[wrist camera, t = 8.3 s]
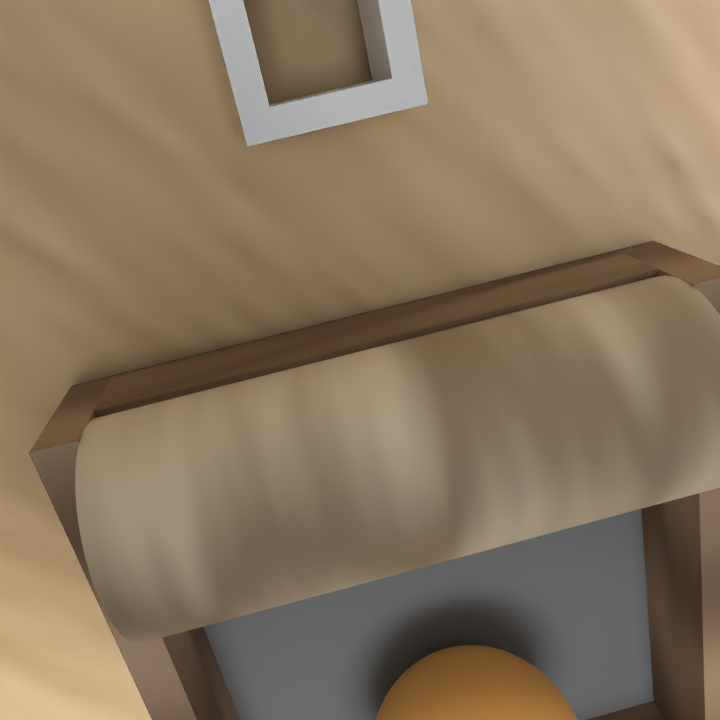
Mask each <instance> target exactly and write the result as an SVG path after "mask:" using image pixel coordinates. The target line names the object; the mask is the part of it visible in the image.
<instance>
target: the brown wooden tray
mask: <svg viewBox="0 0 720 720" xmlns="http://www.w3.org/2000/svg"><path fill="white" fill-rule="evenodd" d="M29 454H30V456H31V458H32V460H33V462H34V465H35V467H36V469H37V471H38V473H39V475H40V478H41V480H42V482H43V484H44V486H45V488H46V491H47V493H48V495H49V497H50V499H51V502H52V504H53V506H54V508H55V510H56V512H57V515H58V517H59V519H60V521H61V523H62V525H63V528H64V530H65V532H66V534H67V536H68V538H69V541H70V543H71V545H72V547H73V549H74V551H75V554H76V556H77V558H78V560H79V562H80V564H81V567H82V569H83V571H84V573H85V575H86V577H87V580H88V582H89V584H90V586H91V588H92V590H93V593H94V595H95V597H96V599H97V601H98V604H99V606H100V608H101V610H102V612H103V614H104V617H105V619H106V621H107V623H108V625H109V627H110V630H111V632H112V634H113V636H114V638H115V640H116V643H117V645H118V647H119V649H120V651H121V653H122V656H123V658H124V660H125V662H126V664H127V666H128V669H129V671H130V673H131V675H132V677H133V679H134V682H135V684H136V686H137V688H138V690H139V692H140V695H141V697H142V699H143V701H144V703H145V705H146V708H147V710H148V712H149V714H150V716H151V719H152V720H240V719H239V717H238V714H237V711H236V709H235V706H234V704H233V701H232V699H231V696H230V694H229V691H228V688H227V686H226V683H225V681H224V678H223V676H222V673H221V671H220V668H219V665H218V663H217V660H216V658H215V655H214V653H213V650H212V648H211V645H210V643H209V640H208V637H207V635H206V632H205V630H204V627H203V626H207V625H211V624H215V623H218V622H222V621H226V620H229V619H233V618H237V617H241V616H244V615H248V614H252V613H255V612H259V611H263V610H267V609H270V608H274V607H278V606H281V605H285V604H289V603H293V602H296V601H300V600H304V599H307V598H311V597H315V596H319V595H322V594H326V593H330V592H333V591H337V590H341V589H345V588H348V587H352V586H356V585H359V584H363V583H367V582H371V581H374V580H378V579H382V578H386V577H389V576H393V575H397V574H400V573H404V572H408V571H412V570H415V569H419V568H423V567H426V566H430V565H434V564H438V563H441V562H445V561H449V560H452V559H456V558H460V557H464V556H467V555H471V554H475V553H478V552H482V551H486V550H490V549H493V548H497V547H501V546H504V545H508V544H512V543H516V542H519V541H523V540H527V539H530V538H534V537H538V536H542V535H545V534H549V533H553V532H557V531H560V530H564V529H568V528H571V527H575V526H579V525H583V524H586V523H590V522H594V521H597V520H601V519H605V518H609V517H612V516H616V515H620V514H623V513H627V512H631V511H635V510H638V509H641V513H642V529H643V544H644V560H645V575H646V590H647V606H648V621H649V636H650V652H651V667H652V683H653V698H654V701H651V702H647V703H644V704H640V705H637V706H633V707H630V708H626V709H623V710H619V711H615V712H612V713H608V714H605V715H601V716H598V717H594V718H591V719H587V720H720V266H718V265H715V264H713V263H710V262H707V261H705V260H702V259H699V258H697V257H694V256H692V255H689V254H686V253H684V252H681V251H678V250H676V249H673V248H670V247H668V246H665V245H663V244H660V243H657V242H655V241H653V242H649V243H645V244H641V245H637V246H633V247H629V248H625V249H621V250H617V251H613V252H609V253H605V254H601V255H597V256H593V257H589V258H585V259H581V260H576V261H572V262H568V263H564V264H560V265H556V266H552V267H548V268H544V269H540V270H536V271H532V272H528V273H524V274H520V275H516V276H512V277H508V278H504V279H500V280H496V281H492V282H488V283H484V284H480V285H476V286H472V287H468V288H464V289H460V290H456V291H452V292H448V293H444V294H440V295H436V296H432V297H428V298H424V299H420V300H416V301H412V302H408V303H404V304H400V305H396V306H392V307H388V308H384V309H380V310H376V311H372V312H368V313H364V314H360V315H356V316H352V317H348V318H344V319H340V320H336V321H332V322H328V323H324V324H320V325H316V326H312V327H308V328H304V329H300V330H296V331H292V332H288V333H284V334H280V335H276V336H272V337H268V338H264V339H260V340H256V341H252V342H248V343H244V344H240V345H236V346H232V347H228V348H224V349H220V350H216V351H212V352H208V353H204V354H200V355H196V356H192V357H188V358H184V359H180V360H176V361H172V362H168V363H164V364H160V365H156V366H152V367H148V368H144V369H140V370H136V371H132V372H128V373H124V374H120V375H116V376H112V377H108V378H104V379H100V380H96V381H92V382H88V383H83V384H79V385H75V386H71V388H70V389H69V391H68V392H67V394H66V396H65V397H64V399H63V400H62V402H61V403H60V405H59V407H58V408H57V410H56V411H55V413H54V415H53V416H52V418H51V419H50V421H49V423H48V424H47V426H46V427H45V429H44V430H43V432H42V434H41V435H40V437H39V438H38V440H37V442H36V443H35V445H34V446H33V448H32V449H31V451H30V453H29Z"/></svg>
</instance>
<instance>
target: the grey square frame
mask: <svg viewBox="0 0 720 720" xmlns="http://www.w3.org/2000/svg"><path fill="white" fill-rule="evenodd" d="M208 1H209V4H210V8H211V12H212V16H213V19H214V23H215V27H216V31H217V34H218V38H219V42H220V46H221V50H222V53H223V57H224V61H225V65H226V68H227V72H228V76H229V80H230V83H231V87H232V91H233V95H234V98H235V102H236V106H237V110H238V113H239V117H240V121H241V125H242V128H243V132H244V136H245V140H246V144H247V147H248V146H252V145H256V144H260V143H265V142H269V141H273V140H277V139H282V138H286V137H290V136H294V135H299V134H303V133H307V132H311V131H316V130H320V129H324V128H328V127H333V126H337V125H341V124H345V123H350V122H354V121H358V120H362V119H367V118H371V117H375V116H379V115H384V114H388V113H392V112H396V111H401V110H405V109H409V108H413V107H418V106H422V105H426V104H428V101H427V95H426V88H425V82H424V76H423V70H422V64H421V58H420V52H419V46H418V40H417V34H416V28H415V21H414V15H413V9H412V3H411V0H357V3H358V8H359V14H360V19H361V24H362V29H363V34H364V40H365V45H366V50H367V55H368V61H369V66H370V71H371V76H372V80H371V81H367V82H363V83H358V84H354V85H350V86H345V87H341V88H337V89H333V90H328V91H324V92H320V93H315V94H311V95H307V96H303V97H298V98H294V99H290V100H285V101H281V102H277V103H272V104H269V102H268V98H267V94H266V90H265V86H264V82H263V78H262V74H261V70H260V66H259V62H258V58H257V54H256V50H255V46H254V42H253V38H252V34H251V30H250V26H249V22H248V18H247V14H246V10H245V6H244V1H243V0H208Z"/></svg>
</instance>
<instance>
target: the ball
mask: <svg viewBox="0 0 720 720" xmlns="http://www.w3.org/2000/svg"><path fill="white" fill-rule="evenodd" d="M375 720H578V719H577V717H576V715H575V713H574V711H573V709H572V707H571V706H570V704H569V703H568V701H567V700H566V698H565V697H564V696H563V694H562V693H561V692H560V690H559V689H558V688H557V687H556V686H555V685H554V684H553V682H552V681H551V680H550V679H549V678H548V677H547V676H545V675H544V674H543V673H542V672H541V671H540V670H538V669H537V668H536V667H535V666H533V665H532V664H530V663H528V662H527V661H525V660H524V659H522V658H520V657H518V656H516V655H514V654H511V653H509V652H507V651H504V650H501V649H497V648H493V647H488V646H482V645H461V646H454V647H449V648H445V649H442V650H439V651H436V652H434V653H431V654H429V655H427V656H426V657H424V658H422V659H421V660H419V661H418V662H416V663H415V664H413V665H412V666H411V667H409V668H408V669H407V670H406V671H405V672H404V673H403V674H402V675H401V676H400V677H399V678H398V680H397V681H396V682H395V683H394V684H393V686H392V687H391V688H390V690H389V692H388V693H387V695H386V696H385V698H384V700H383V702H382V704H381V706H380V709H379V711H378V713H377V716H376V719H375Z"/></svg>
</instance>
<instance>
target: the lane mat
mask: <svg viewBox="0 0 720 720" xmlns="http://www.w3.org/2000/svg"><path fill="white" fill-rule="evenodd" d="M203 627H204V630H205V632H206V635H207V637H208V640H209V643H210V645H211V648H212V650H213V653H214V655H215V658H216V660H217V663H218V665H219V668H220V671H221V673H222V676H223V678H224V681H225V683H226V686H227V688H228V691H229V694H230V696H231V699H232V701H233V704H234V706H235V709H236V711H237V714H238V717H239V719H240V720H375V719H376V716H377V713H378V711H379V709H380V706H381V704H382V702H383V700H384V698H385V696H386V695H387V693H388V692H389V690H390V688H391V687H392V686H393V684H394V683H395V682H396V681H397V680H398V678H399V677H400V676H401V675H402V674H403V673H404V672H405V671H406V670H407V669H408V668H409V667H411V666H412V665H413V664H415V663H416V662H418V661H419V660H421V659H422V658H424V657H426V656H427V655H429V654H431V653H434V652H436V651H439V650H442V649H445V648H449V647H454V646H461V645H482V646H488V647H493V648H497V649H501V650H504V651H507V652H509V653H511V654H514V655H516V656H518V657H520V658H522V659H524V660H525V661H527V662H528V663H530V664H532V665H533V666H535V667H536V668H537V669H538V670H540V671H541V672H542V673H543V674H544V675H545V676H547V677H548V678H549V679H550V680H551V681H552V682H553V684H554V685H555V686H556V687H557V688H558V689H559V690H560V692H561V693H562V694H563V696H564V697H565V698H566V700H567V701H568V703H569V704H570V706H571V707H572V709H573V711H574V713H575V715H576V717H577V719H578V720H587V719H591V718H594V717H598V716H601V715H605V714H608V713H612V712H615V711H619V710H623V709H626V708H630V707H633V706H637V705H640V704H644V703H647V702H651V701H654V698H653V683H652V667H651V652H650V636H649V621H648V606H647V590H646V575H645V560H644V544H643V529H642V513H641V509H638V510H635V511H631V512H627V513H623V514H620V515H616V516H612V517H609V518H605V519H601V520H597V521H594V522H590V523H586V524H583V525H579V526H575V527H571V528H568V529H564V530H560V531H557V532H553V533H549V534H545V535H542V536H538V537H534V538H530V539H527V540H523V541H519V542H516V543H512V544H508V545H504V546H501V547H497V548H493V549H490V550H486V551H482V552H478V553H475V554H471V555H467V556H464V557H460V558H456V559H452V560H449V561H445V562H441V563H438V564H434V565H430V566H426V567H423V568H419V569H415V570H412V571H408V572H404V573H400V574H397V575H393V576H389V577H386V578H382V579H378V580H374V581H371V582H367V583H363V584H359V585H356V586H352V587H348V588H345V589H341V590H337V591H333V592H330V593H326V594H322V595H319V596H315V597H311V598H307V599H304V600H300V601H296V602H293V603H289V604H285V605H281V606H278V607H274V608H270V609H267V610H263V611H259V612H255V613H252V614H248V615H244V616H241V617H237V618H233V619H229V620H226V621H222V622H218V623H215V624H211V625H207V626H203Z"/></svg>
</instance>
